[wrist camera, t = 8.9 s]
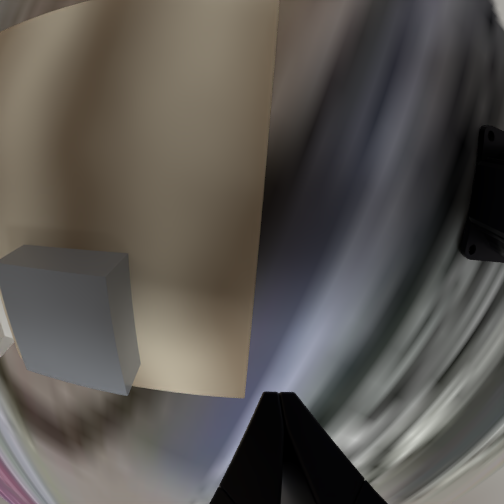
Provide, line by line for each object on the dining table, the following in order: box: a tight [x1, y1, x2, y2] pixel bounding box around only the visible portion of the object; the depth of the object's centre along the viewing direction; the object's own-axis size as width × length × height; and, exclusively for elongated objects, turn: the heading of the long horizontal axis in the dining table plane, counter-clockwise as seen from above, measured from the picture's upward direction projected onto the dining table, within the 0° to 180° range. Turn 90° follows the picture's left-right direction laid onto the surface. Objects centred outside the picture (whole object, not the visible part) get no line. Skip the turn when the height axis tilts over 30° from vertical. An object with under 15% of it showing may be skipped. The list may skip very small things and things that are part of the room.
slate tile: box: [0, 245, 141, 396], centre depth 10 cm, size 5×5×2 cm
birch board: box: [0, 0, 280, 398], centre depth 11 cm, size 12×16×2 cm
